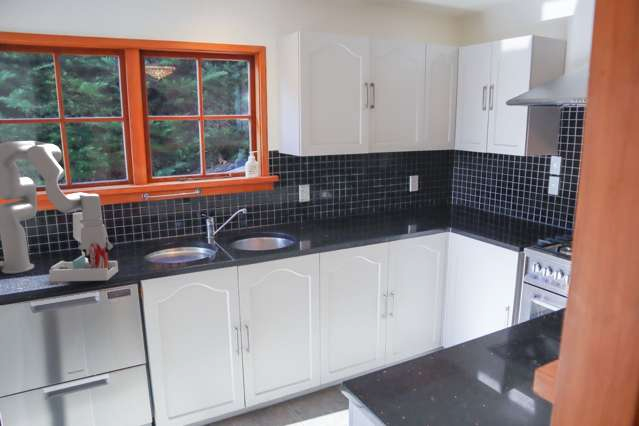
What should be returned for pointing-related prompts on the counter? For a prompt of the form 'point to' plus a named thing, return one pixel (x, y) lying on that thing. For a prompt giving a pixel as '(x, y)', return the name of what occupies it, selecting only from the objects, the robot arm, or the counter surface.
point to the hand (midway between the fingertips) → (97, 262)
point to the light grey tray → (81, 272)
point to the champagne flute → (78, 228)
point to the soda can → (98, 256)
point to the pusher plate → (79, 263)
